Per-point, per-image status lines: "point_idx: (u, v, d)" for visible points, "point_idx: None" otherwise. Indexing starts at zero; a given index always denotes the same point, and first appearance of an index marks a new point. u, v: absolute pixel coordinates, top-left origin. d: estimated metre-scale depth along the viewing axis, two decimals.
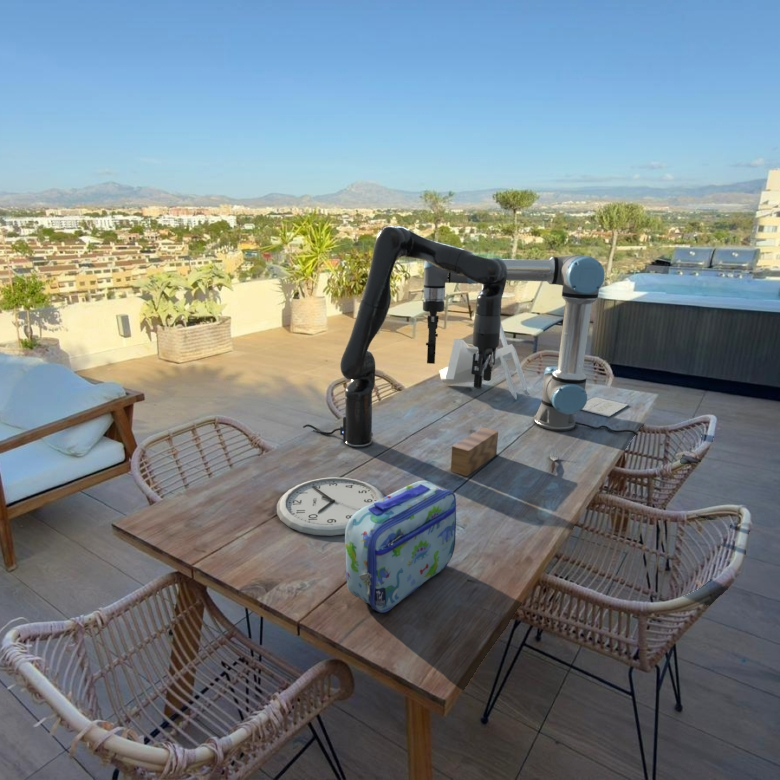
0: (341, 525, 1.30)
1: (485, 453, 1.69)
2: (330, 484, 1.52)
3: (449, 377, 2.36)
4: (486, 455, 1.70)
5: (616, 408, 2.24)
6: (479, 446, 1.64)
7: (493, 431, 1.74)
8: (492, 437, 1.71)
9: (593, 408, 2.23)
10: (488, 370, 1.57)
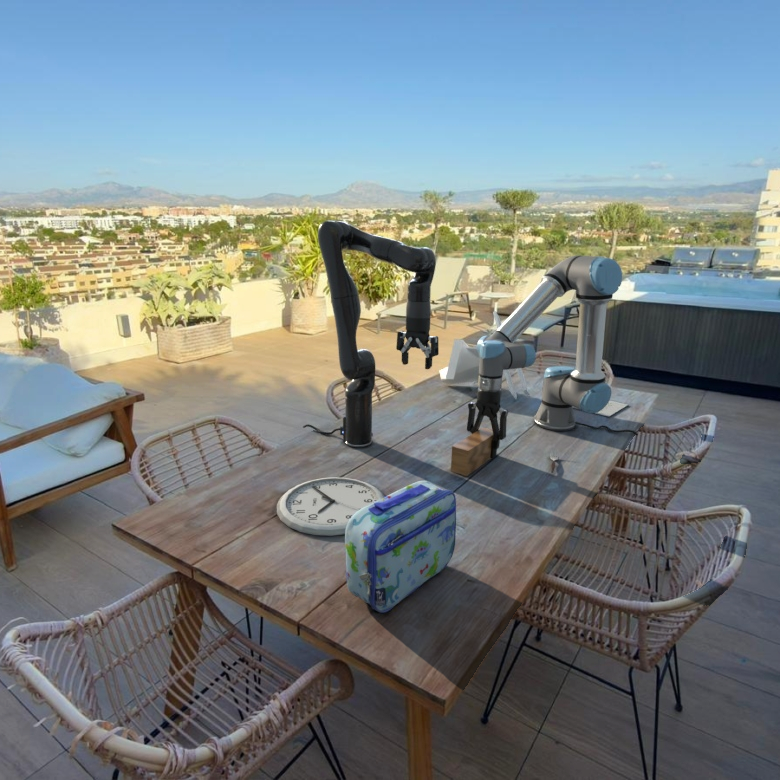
0: (341, 525, 1.30)
1: (485, 453, 1.69)
2: (330, 484, 1.52)
3: (449, 377, 2.36)
4: (486, 455, 1.70)
5: (616, 408, 2.24)
6: (479, 446, 1.64)
7: None
8: (492, 437, 1.71)
9: None
10: (407, 354, 1.66)
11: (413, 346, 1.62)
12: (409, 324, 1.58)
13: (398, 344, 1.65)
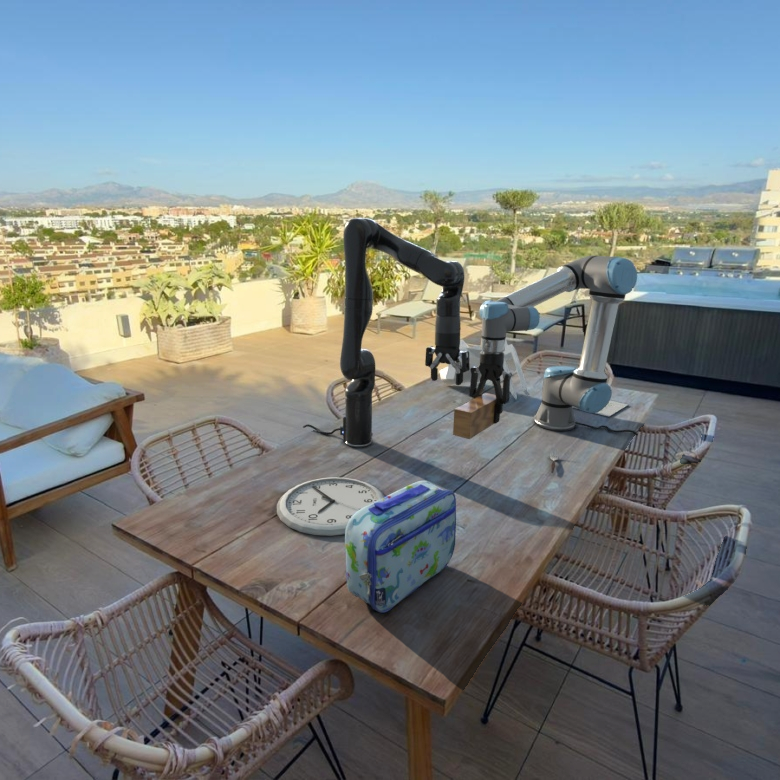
0: (341, 525, 1.30)
1: (487, 417, 1.65)
2: (330, 484, 1.52)
3: (449, 377, 2.36)
4: (488, 419, 1.66)
5: (616, 408, 2.24)
6: (482, 409, 1.61)
7: None
8: (495, 401, 1.67)
9: None
10: (436, 370, 1.62)
11: (443, 362, 1.58)
12: (439, 339, 1.54)
13: (427, 360, 1.61)
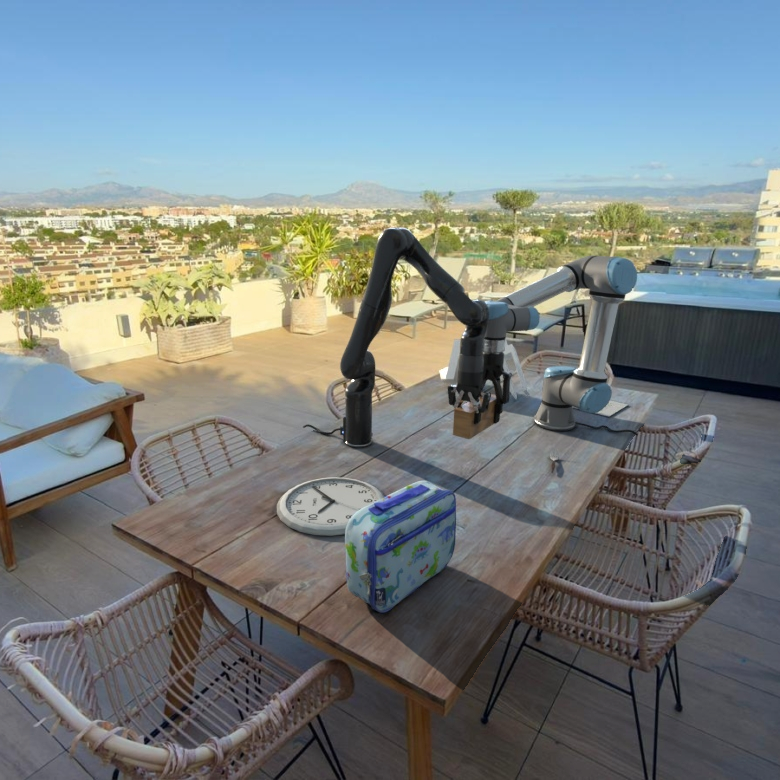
0: (341, 525, 1.30)
1: (487, 417, 1.65)
2: (330, 484, 1.52)
3: (449, 377, 2.36)
4: (488, 419, 1.66)
5: (616, 408, 2.24)
6: None
7: None
8: (495, 401, 1.67)
9: None
10: None
11: (464, 399, 1.58)
12: (462, 378, 1.53)
13: (450, 399, 1.60)
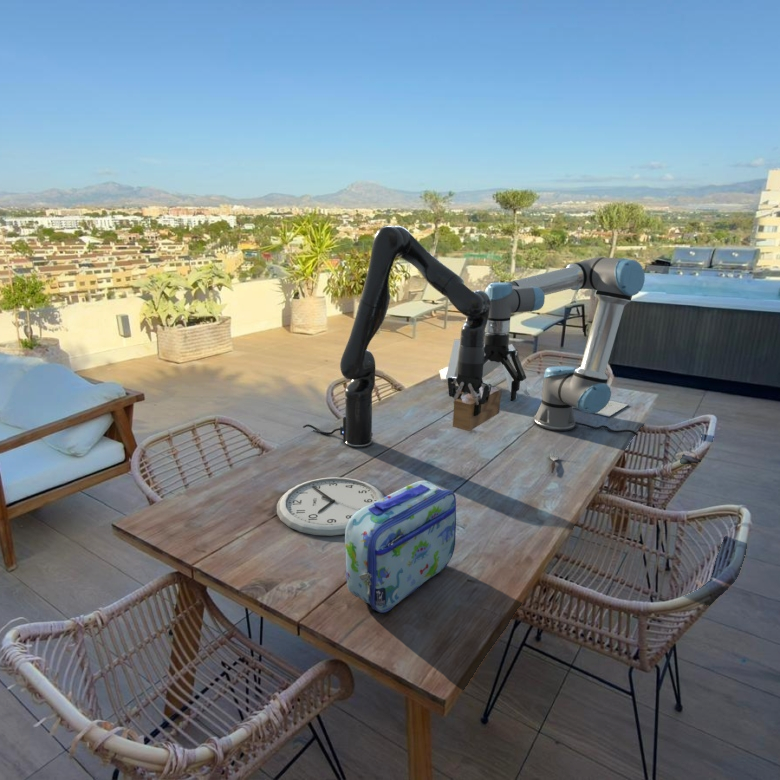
0: (341, 525, 1.30)
1: (487, 409, 1.64)
2: (330, 484, 1.52)
3: None
4: (488, 412, 1.65)
5: (616, 408, 2.24)
6: None
7: (496, 388, 1.70)
8: (495, 394, 1.67)
9: None
10: None
11: (464, 391, 1.57)
12: (462, 369, 1.53)
13: (450, 390, 1.60)
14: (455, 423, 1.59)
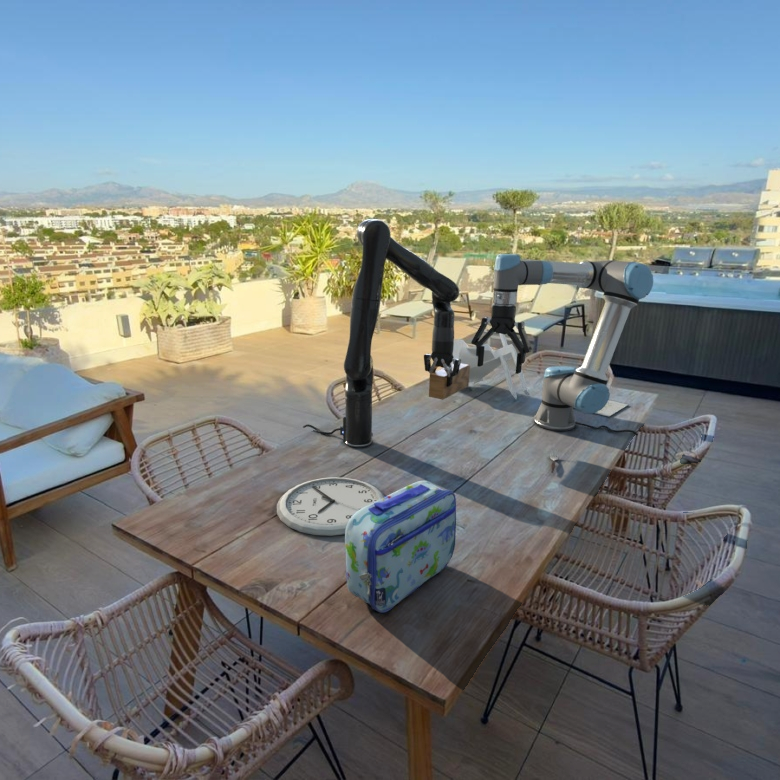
0: (341, 525, 1.30)
1: (458, 382, 1.92)
2: (330, 484, 1.52)
3: None
4: (459, 384, 1.93)
5: (616, 408, 2.24)
6: None
7: (465, 364, 1.97)
8: (464, 369, 1.95)
9: None
10: None
11: (438, 365, 1.84)
12: (436, 346, 1.80)
13: (426, 365, 1.87)
14: (431, 393, 1.86)
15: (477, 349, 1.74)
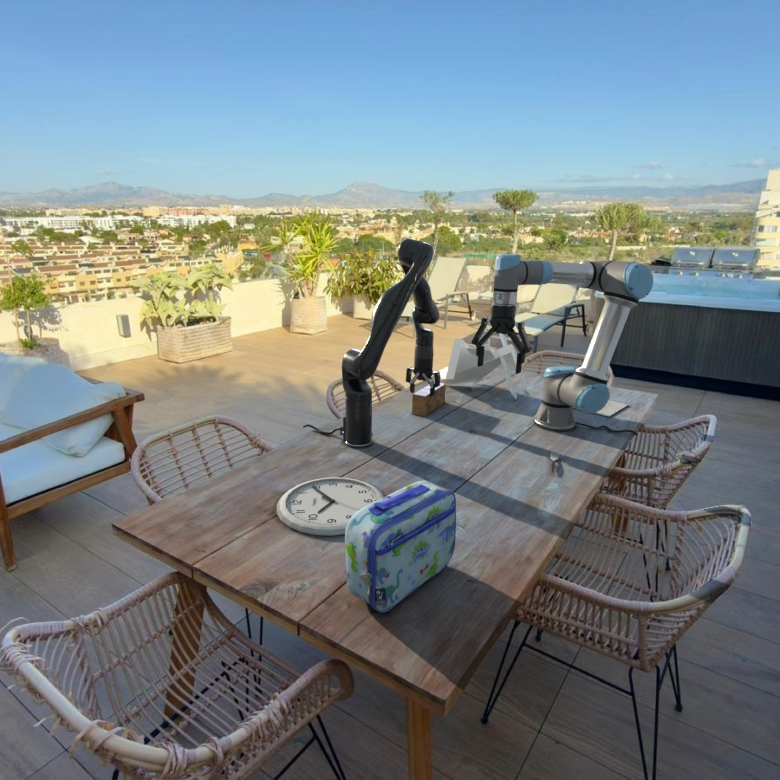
0: (341, 525, 1.30)
1: (436, 400, 2.20)
2: (330, 484, 1.52)
3: (449, 377, 2.36)
4: (437, 401, 2.21)
5: (616, 408, 2.24)
6: None
7: (442, 384, 2.25)
8: (441, 388, 2.23)
9: None
10: (414, 385, 2.14)
11: (420, 379, 2.11)
12: (418, 363, 2.06)
13: (407, 377, 2.13)
14: (414, 411, 2.13)
15: (477, 349, 1.74)
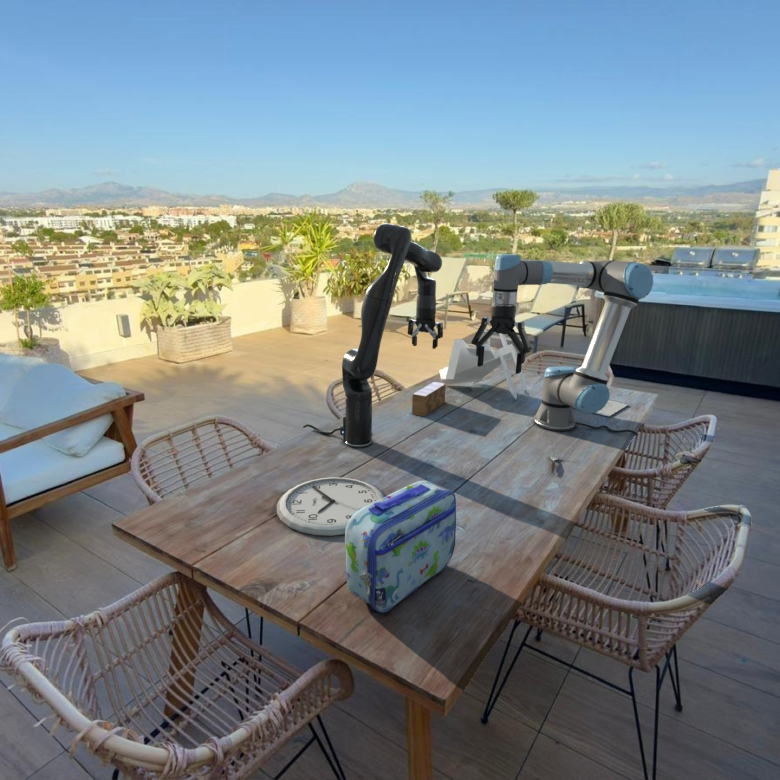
0: (341, 525, 1.30)
1: (436, 400, 2.20)
2: (330, 484, 1.52)
3: (449, 377, 2.36)
4: (437, 401, 2.21)
5: (616, 408, 2.24)
6: (432, 394, 2.15)
7: (442, 384, 2.25)
8: (441, 388, 2.23)
9: None
10: (416, 337, 2.08)
11: (422, 331, 2.05)
12: (420, 313, 2.00)
13: (409, 330, 2.07)
14: (414, 411, 2.13)
15: (477, 349, 1.74)
